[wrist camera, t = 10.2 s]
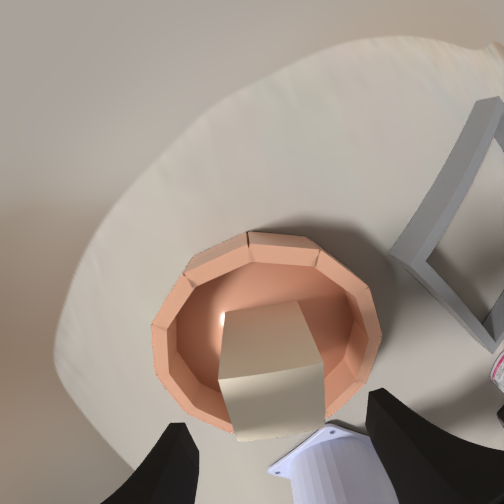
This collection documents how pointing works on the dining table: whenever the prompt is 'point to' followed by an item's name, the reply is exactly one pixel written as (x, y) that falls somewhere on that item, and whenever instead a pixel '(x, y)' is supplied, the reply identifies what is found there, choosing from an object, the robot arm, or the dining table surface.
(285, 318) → the sandstone block
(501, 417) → the manual coffee grinder
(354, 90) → the dining table surface
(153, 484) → the robot arm
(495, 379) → the pill bottle
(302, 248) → the bowl
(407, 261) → the tray
